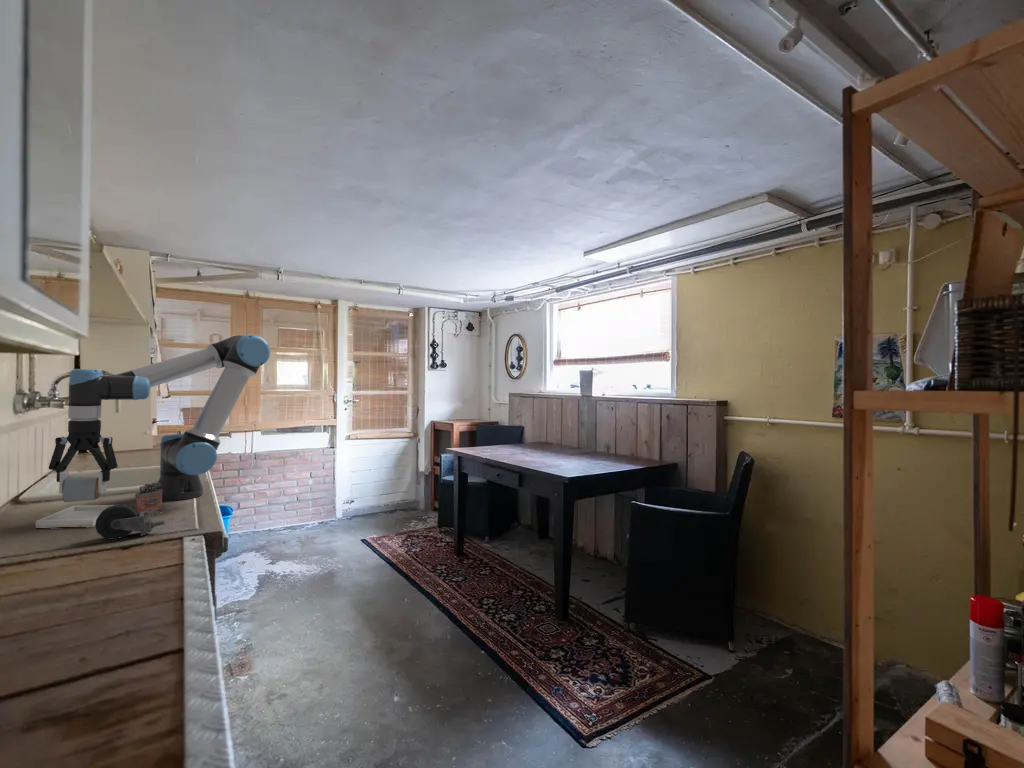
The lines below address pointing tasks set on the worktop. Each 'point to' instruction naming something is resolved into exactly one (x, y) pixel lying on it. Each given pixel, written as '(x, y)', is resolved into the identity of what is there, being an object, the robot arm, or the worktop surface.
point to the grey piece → (80, 488)
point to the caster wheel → (123, 522)
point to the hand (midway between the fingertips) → (83, 492)
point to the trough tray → (73, 516)
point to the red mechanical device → (149, 499)
